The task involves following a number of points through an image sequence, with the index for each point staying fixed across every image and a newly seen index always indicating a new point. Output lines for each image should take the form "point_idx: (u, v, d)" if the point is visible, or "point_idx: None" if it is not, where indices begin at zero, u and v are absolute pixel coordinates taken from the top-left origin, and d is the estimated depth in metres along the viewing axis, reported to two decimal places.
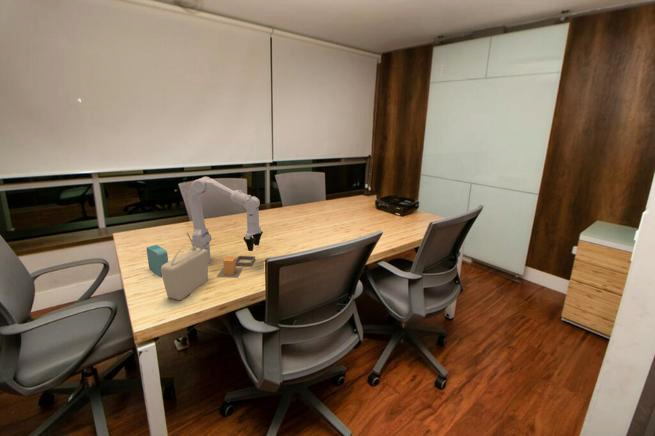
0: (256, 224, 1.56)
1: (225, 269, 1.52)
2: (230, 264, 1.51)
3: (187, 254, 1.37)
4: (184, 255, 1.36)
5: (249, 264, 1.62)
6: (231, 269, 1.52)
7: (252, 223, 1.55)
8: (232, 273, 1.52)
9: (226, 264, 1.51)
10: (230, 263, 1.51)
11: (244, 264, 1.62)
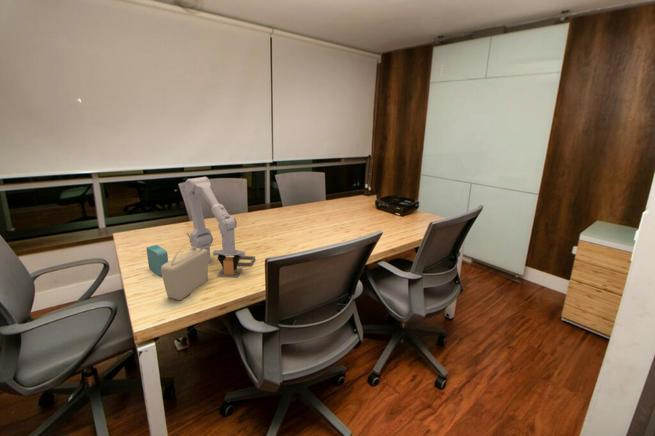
0: (223, 245, 1.48)
1: (225, 269, 1.52)
2: (230, 264, 1.51)
3: (187, 254, 1.37)
4: (184, 255, 1.36)
5: (249, 264, 1.62)
6: (231, 269, 1.52)
7: (222, 243, 1.49)
8: (232, 273, 1.52)
9: (226, 264, 1.51)
10: (230, 263, 1.51)
11: (244, 264, 1.62)
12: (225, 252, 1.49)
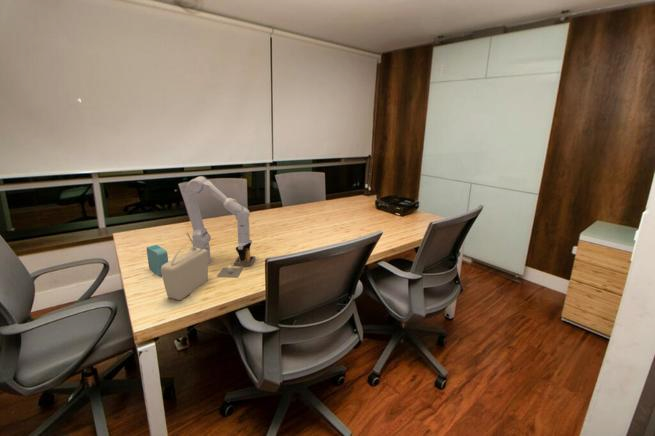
0: (247, 234, 1.60)
1: (248, 259, 1.64)
2: (249, 252, 1.66)
3: (187, 254, 1.37)
4: (184, 255, 1.36)
5: (249, 264, 1.62)
6: (249, 257, 1.67)
7: (244, 233, 1.59)
8: None
9: (248, 254, 1.64)
10: (249, 252, 1.66)
11: (244, 264, 1.62)
12: (248, 240, 1.62)
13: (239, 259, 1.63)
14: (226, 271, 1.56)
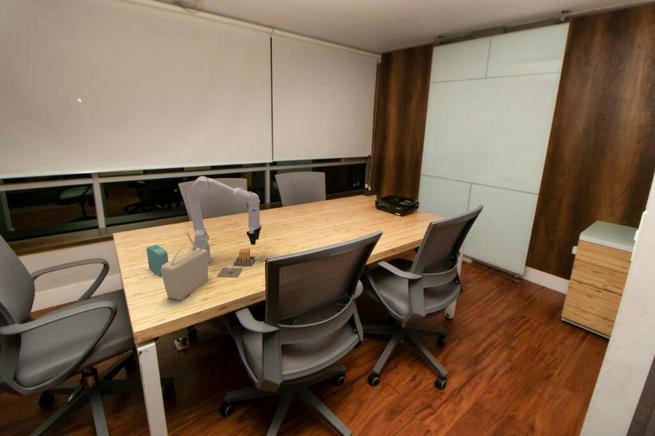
0: (258, 219, 1.64)
1: (248, 259, 1.64)
2: (249, 252, 1.66)
3: (187, 254, 1.37)
4: (184, 255, 1.36)
5: (249, 264, 1.62)
6: (249, 257, 1.67)
7: (254, 218, 1.63)
8: None
9: (248, 254, 1.64)
10: (249, 252, 1.66)
11: (244, 264, 1.62)
12: (259, 224, 1.66)
13: (239, 259, 1.63)
14: (226, 271, 1.56)
